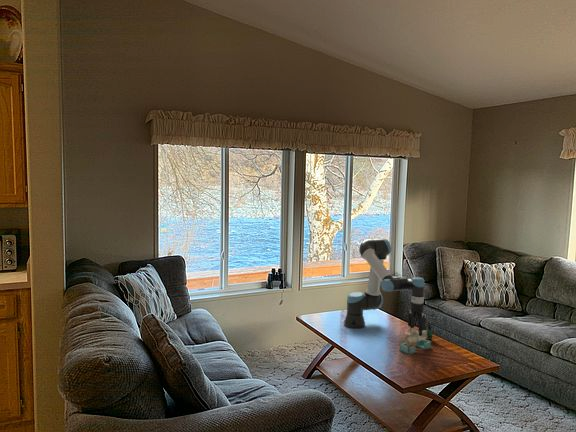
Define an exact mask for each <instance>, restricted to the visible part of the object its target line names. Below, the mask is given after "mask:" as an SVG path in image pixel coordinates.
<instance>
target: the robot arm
mask: <svg viewBox="0 0 576 432" xmlns="http://www.w3.org/2000/svg"><path fill="white" fill-rule="evenodd" d="M358 248H359V254H360V256H361V258H362V259H363V260H364V261H366V262H367V264H368V265H369V266H370V267H369V276H368V282H367V288H366V289H365V290H364V293H363V292H360V291H353V292H350V293H349V294H348V295H347V297H346V298H347V299H346V316H345V318H344V321H343V325H344V326H345V327H347V328H351V329H362V328H364V327H366V322H365V317H364V311H369V310H370V311H371V310H378V309H380V308H381V307H382V306H383V304H384V296H383V295H382V293H381V290H380V287H381V289H382V291H383V292H396V291H397V292H399V291H409V292H411V300H410V302H411V303H410V309H408V310H407V311H406V312H407V326H408V327H410V332H413V331H416V326H415V324H416V321H417V327H418V328H417V330H418V333H417V341H420V340H421V336H422V331H423V330H426V327H427V325H426V323H427V317H428V315H427V314H425V313H424V305H425V304H424V302H425V286H426V285H425V279H424V278H423V277H420V276H418V277H417V276H414V277H412V278H410V277H408V276H402V277H400V278H394V277H393V275H392V274H391V272H389V270H388V269H387V267H386V266H385V264H384V262H385V261H386V260H387V256H389V255H390V254H391V252H392V246H391V242H390V241H389V240H388V239H387V238H367V239H364V240H363V241H362V242H361V244H360V245H359V247H358ZM410 332H409V333H410Z"/></svg>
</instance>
